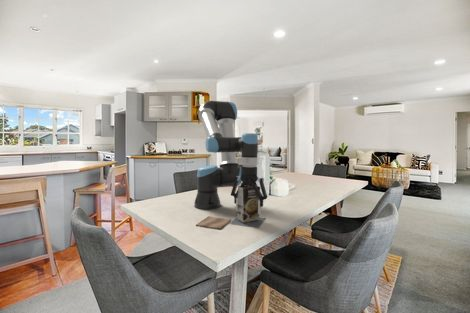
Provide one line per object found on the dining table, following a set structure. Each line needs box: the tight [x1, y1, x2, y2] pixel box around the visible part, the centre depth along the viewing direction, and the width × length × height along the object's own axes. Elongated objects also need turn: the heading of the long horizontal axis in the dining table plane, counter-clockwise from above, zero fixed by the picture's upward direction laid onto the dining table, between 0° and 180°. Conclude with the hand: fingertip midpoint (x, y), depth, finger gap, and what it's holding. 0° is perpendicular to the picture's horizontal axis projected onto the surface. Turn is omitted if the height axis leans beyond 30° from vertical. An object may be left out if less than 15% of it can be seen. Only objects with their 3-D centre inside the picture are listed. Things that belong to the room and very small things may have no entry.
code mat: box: [229, 216, 267, 229], centre depth 112 cm, size 14×14×1 cm
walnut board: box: [195, 216, 232, 231], centre depth 109 cm, size 12×12×1 cm
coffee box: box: [236, 185, 261, 222], centre depth 112 cm, size 9×6×16 cm
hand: (248, 211), depth 112 cm, fingers closed on coffee box, 10 cm apart
